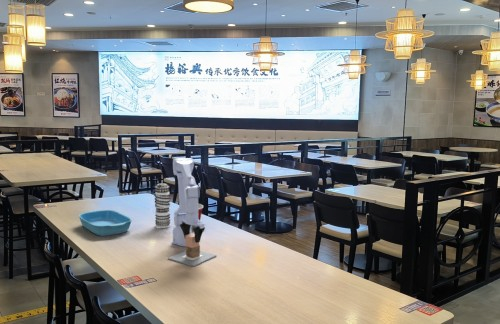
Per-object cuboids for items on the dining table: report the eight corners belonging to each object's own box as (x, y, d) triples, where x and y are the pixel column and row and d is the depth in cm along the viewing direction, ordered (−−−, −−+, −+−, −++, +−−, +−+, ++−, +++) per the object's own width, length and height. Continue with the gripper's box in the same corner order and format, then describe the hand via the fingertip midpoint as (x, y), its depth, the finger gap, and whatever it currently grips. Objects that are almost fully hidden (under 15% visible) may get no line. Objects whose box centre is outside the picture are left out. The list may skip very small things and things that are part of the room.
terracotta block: (185, 245, 198) (185, 235, 197) (192, 243, 201) (192, 233, 200) (191, 248, 195) (191, 237, 194) (199, 245, 198) (199, 235, 197)
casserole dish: (138, 232, 237) (137, 220, 236) (98, 240, 222) (98, 227, 221) (110, 219, 264) (110, 207, 263) (73, 225, 249) (73, 213, 249)
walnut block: (186, 255, 199) (186, 245, 198) (193, 253, 202) (193, 243, 201) (192, 258, 196) (192, 247, 195) (199, 255, 199) (199, 245, 198)
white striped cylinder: (155, 228, 244) (154, 185, 240) (154, 224, 253) (153, 182, 249) (171, 227, 246) (170, 185, 243) (170, 223, 255) (169, 182, 252)
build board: (167, 259, 196) (167, 257, 196) (191, 249, 209) (191, 248, 209) (193, 266, 187) (193, 265, 187) (216, 256, 201) (216, 254, 200)
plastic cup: (186, 228, 245) (186, 208, 243) (184, 223, 255) (184, 204, 254) (205, 227, 248) (205, 207, 246) (202, 222, 258) (202, 203, 257)
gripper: (209, 213, 194) (209, 241, 196) (188, 207, 203) (188, 235, 205) (197, 215, 188) (197, 245, 190) (176, 210, 198) (177, 238, 200)
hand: (192, 240), depth 197 cm, fingers open, 7 cm apart
